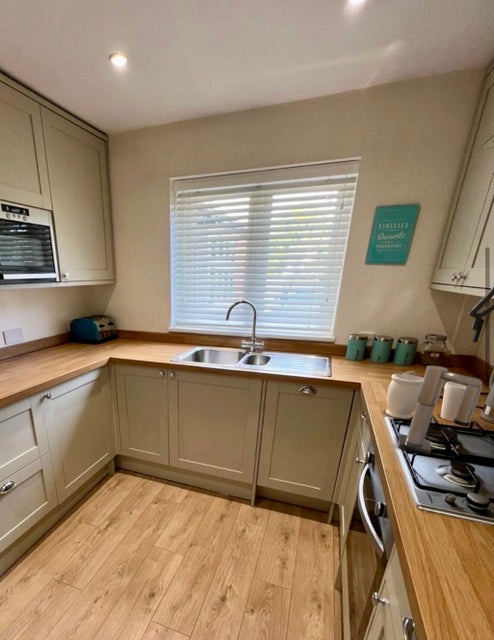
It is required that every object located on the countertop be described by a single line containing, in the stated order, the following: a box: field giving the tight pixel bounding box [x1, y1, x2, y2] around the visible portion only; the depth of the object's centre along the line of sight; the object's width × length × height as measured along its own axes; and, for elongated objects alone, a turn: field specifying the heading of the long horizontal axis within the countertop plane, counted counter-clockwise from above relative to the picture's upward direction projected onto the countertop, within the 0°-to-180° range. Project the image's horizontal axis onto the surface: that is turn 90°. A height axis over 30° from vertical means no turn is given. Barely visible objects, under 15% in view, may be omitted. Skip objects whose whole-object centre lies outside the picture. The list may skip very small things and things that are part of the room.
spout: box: [417, 365, 483, 427], centre depth 92 cm, size 14×5×13 cm, turn 22°
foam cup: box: [440, 381, 467, 423], centre depth 122 cm, size 10×9×13 cm
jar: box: [385, 373, 424, 420], centre depth 123 cm, size 11×10×15 cm
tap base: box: [397, 402, 436, 456], centre depth 100 cm, size 8×8×14 cm
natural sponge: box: [402, 370, 423, 378], centre depth 151 cm, size 9×9×10 cm
